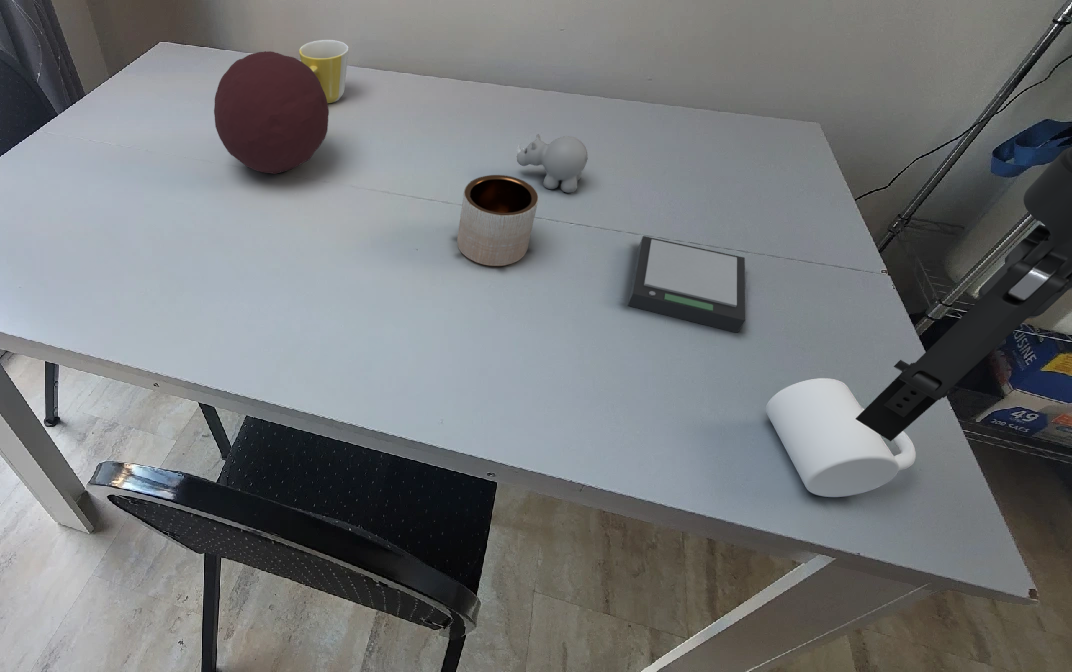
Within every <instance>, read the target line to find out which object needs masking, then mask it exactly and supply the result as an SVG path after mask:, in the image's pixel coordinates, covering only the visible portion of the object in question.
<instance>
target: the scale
mask: <svg viewBox="0 0 1072 672" xmlns="http://www.w3.org/2000/svg"><path fill="white" fill-rule="evenodd" d="M634 262H635V263H634V268H633V274H632V280H631V285H630V291H629V296H628V301H627V306H628V307H632V308H635V309H639V310H643V311H647V312H652V313H656V314H658V315H659V314H660V315H664V316H668V317H671V318H676V319H680V320H684V321H688V322H691V323H696V324H700V325H704V326H707V327H712V328H715V329H720V330H723V331H728V332H732V333H736V334H737V333H739V332H740V330H741V329H742V327H743V325H744V324H745V322H746V258H745V257H743V256H739V255H735V254H730V253H725V252H720V251H716V250H711V249H706V248H701V247H697V246H694V245H693V246H692V245H688V244H684V243H683V244H682V243H678V242H674V241H669V240H665V239H660V238H656V237H650V236H646V235H643V236H642V237H641V240H640V242H639V245H638V248H637V252H636V258H635V261H634Z"/></svg>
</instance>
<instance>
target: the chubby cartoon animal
mask: <svg viewBox="0 0 1072 672" xmlns="http://www.w3.org/2000/svg"><path fill="white" fill-rule="evenodd" d="M588 155H589V154H588V149H587V146H586V145H585V144H584V142H583V141H582V140H580V139H579V138H577V137H575V136H571V135H564V136H559V137H557V138H555V139H554V140H552V141H551V142H550V143H548V144H547V143H546V142H544V141H543V140H541V136H540V134H539V133H538V134H536V138H535V140H533V141H531V142H530V143H529V144H528V145H527V146H526V148H525V147H522V148H521V144H520V143H519V144H518V145H517V147H516V162H517V163H518V165H520V166H522V167H526V166H529V165H531V166H535V167H538V166H542V167H543V169H544V170H545V172H546V175H545V177H544V179H543V181H542V182H543V183H542V184H543V186H544V187H545V188H546V189H548V190H554V189H557V188H558V187H559V185H560V189H561V191H562V192H565V193H567V194H569V193H574V192H576V190H577V189H578V181H580V180H581V178H582V174H583V171H584V169H585V168H586V166H587V162H588V160H589V156H588ZM560 183H561V184H560Z"/></svg>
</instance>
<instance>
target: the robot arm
mask: <svg viewBox="0 0 1072 672" xmlns="http://www.w3.org/2000/svg"><path fill="white" fill-rule="evenodd" d="M1023 205H1024V207H1025V209H1026V211H1027V212H1028V214H1029V215H1030V216H1031V217H1033V219H1034V220H1036V221H1037V222H1038V221H1039V222H1040V223H1039V224H1037V226H1035V228H1033V230H1031V232H1030V233H1028V234H1027V235H1026V237H1024V238H1023V239H1022V240H1021V241H1020V242H1019V243H1017V244H1016V245H1015V246H1014V247H1013V248H1012V249H1011V250H1010V251H1009V252H1008V254H1007V255H1006V256H1005V258H1004V264H1002V265H1001V266H1000V267H999V268H998V269H997V270H996V271H995V272H994V273H993V274H992V275H991V276H990V277H989V278H988V279H987V280H986V281H985V282H983V284H982V285H981V286H980V287H979V289H978V291H977V294H978V296H979V299H978V301H976V303H974V304H973V305H972V306H971V307H970V308H969V309H968V310H967V311H966V312H965V313H964V314H963V315H962V316H961V317H960V318H959V319H958V320H957V321H956V322H955V323H954V324H953V325H952V326H951V327H950V328H949V329H948V330H947V331H946V332H945V333H944V334H942V335H941V337H940V338H939V339H937V341H936V342H934V343H933V344H932V345H931V347H930V348H929V349H927V350H926V352H924V353H923V354H922V355H921V356H920V357H919V358H918V359H917V360H916V361H915V362H911V363H910V364H909V363H907V362H905V361H904V360H902V359H899V360H898V361H897V363H895V365H893V368H895V369H897V370H898V371H900V374H899V375H898V376H897V377H896V378H894V380H892V381H891V383H889V384H888V386H886V388H884V389H883V391H881V393H880V394H878V395H877V396H876V397H875V398H874V399H873V400H872V401H871V402H870V403H869V404H868V405H867V406H866V407H865V408H864V409H865V410H864V411H863V412H861V413H860V414H859V415H858V416H857V417H856V418H855V419H856V420H858V421H859V422H861V423H862V424H864V425H866V426H867V427H869V428H870V429H872V430H873V431H875V432H877V433H878V434H879V435H880V436H881V437H883V438H885V439H886V440H887V441H889V442H892V441H893V439H894V438H895V437H897V436H898V435H899V434H900V433H901V432H902V431H905V430H906V429H907V428H908V427H909V426H911V424H913V423H914V422H915V421H916V420H917V419H918V418H920V417H921V416H922V415H923V414H924V413H925V412H926V411H927V410H929V409H930V408H931V407H932V406H933V405H935V404H936V402H938V401H940V400H942V399H945V398H946V397H947V396H948V395H949V394H950V391H951V390H953V388H955V385H956V384H957V383H958V382H960V381H961V380H962V379H963V378H964V377H965V376H966V375H967V374H968V373H969V372H971V370H973V369H974V368H975V367H976V366H977V365H978V364H979V363H980V362H981V361H983V360H984V359H985V357H987V356H988V355H989V354H990V353H991V352H992V351H994V350H995V348H997V346H999V345H1000V344H1001V343H1002V342H1003V341H1005V339H1006V338H1007V337H1009V336H1010V334H1012V333H1013V332H1014V331H1015V330H1016V329H1018V328H1019V326H1021V325H1022V324H1023V323H1024V322H1025V321H1026V320H1027V319H1029V320H1031V319H1036V318H1038V317H1040V316H1041V315H1042V314H1044V313H1045V312H1046V311H1048V309H1050V308H1051V306H1053V305H1054V304H1055V303H1056V302H1057V301H1058V300H1059V299H1060V298H1062V296H1064V294H1066V293H1067V292H1068V291H1071V290H1072V146H1070V147H1067V148H1065V149H1064V150H1062V151H1061V153H1059V155H1058V156H1057V157H1056V158H1055V159H1054V160H1053V161H1052V162H1051V163H1050V165H1048V167H1046V169H1045V170H1044V171H1043V172H1042V173H1041V174H1040V175H1039V176H1038V177H1037V179H1035V180H1034V181H1033V183H1032V184H1031V185H1030V186H1029V187H1028V188H1027V189H1026V191H1025V193H1024V195H1023Z"/></svg>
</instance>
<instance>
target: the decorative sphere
mask: <svg viewBox="0 0 1072 672" xmlns="http://www.w3.org/2000/svg"><path fill="white" fill-rule="evenodd" d="M213 114H214V126H215V130H216V132H217V134H218V137H219V139H220V141H221V143H222V145H223V146H224V148H225V149H226V151H227V152H228V154H230V155H231V156H232V157H233V158H234V159H236V160H237V161H238V162H240V163H242V164H243V165H244V166H245V167H247V168H250V169H252V170H254V171H256V172H259V173H267V174H274V175H275V174H276V175H277V174H279V173H280V174H281V173H285V172H288V171H289V170H293V169H294V168H296V167H298V166H300V165H302V164H304V163H306V162H307V161H309V160H310V159H311V158H312V157H313V155H314V154H315V152H316V151H317V150H318V149H319V148H320V146H321V144H322V143H323V141H324V140H325V138H326V137H327V134H328V129H329V128H328V127H329V116H330V110H329V103H327V99H326V95H325V93H324V91H323V89H322V86H321V84H320V81H319V79H318V78H317V76H316V75H315V73H314V72H313V71H312V69H311V68H309V67H308V66H307V65H305V64H304V63H303V62H301V60H300V59H298V58H296V57H294V56H289V55H285V54H281V53H280V52H275V51H271V50H270V51H269V50H267V51H258V52H255V53H250V54H248V55H246V56H244V57H242V58H239V59H237V60H235V62H233V63H232V64H231V65H230V66H229V68H228V69H227V71H226V72H225V73H224V74H223V75H222V77H221V78H220V80H219V83H218V85H217V89H216V93H215V95H214V108H213Z"/></svg>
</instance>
